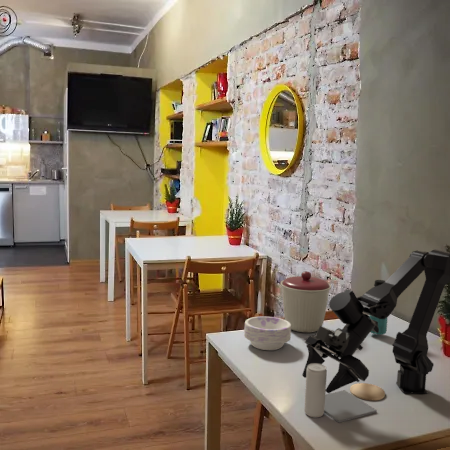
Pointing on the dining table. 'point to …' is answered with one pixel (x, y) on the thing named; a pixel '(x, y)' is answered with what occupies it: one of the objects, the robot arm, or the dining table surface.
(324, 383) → the beverage can
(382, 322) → the beverage bottle
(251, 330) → the paper bowls
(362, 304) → the robot arm
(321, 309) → the canister
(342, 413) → the slate coaster
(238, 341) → the dining table surface
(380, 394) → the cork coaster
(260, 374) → the dining table surface
